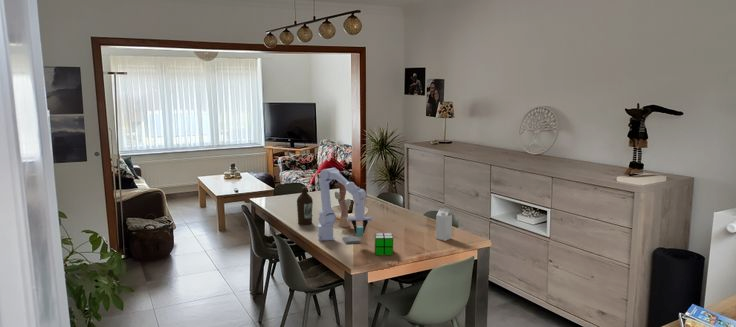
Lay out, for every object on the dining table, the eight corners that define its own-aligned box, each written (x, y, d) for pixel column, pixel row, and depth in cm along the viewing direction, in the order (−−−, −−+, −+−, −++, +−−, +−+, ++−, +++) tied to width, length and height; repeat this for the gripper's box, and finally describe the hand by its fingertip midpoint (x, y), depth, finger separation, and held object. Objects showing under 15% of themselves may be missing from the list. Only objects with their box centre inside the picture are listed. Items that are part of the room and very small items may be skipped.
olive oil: (294, 223, 358) (293, 187, 354) (306, 220, 365) (306, 185, 361) (303, 226, 350) (302, 189, 346) (316, 223, 357) (315, 187, 354)
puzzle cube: (391, 249, 303) (391, 232, 301) (393, 255, 293) (393, 238, 291) (374, 249, 303) (374, 233, 301) (375, 255, 293) (375, 238, 291)
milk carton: (441, 236, 329) (442, 206, 326) (451, 238, 324) (452, 208, 321) (435, 238, 323) (436, 208, 320) (445, 241, 319) (446, 210, 316)
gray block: (346, 244, 313) (346, 241, 312) (342, 240, 321) (342, 237, 321) (360, 243, 315) (360, 240, 315) (356, 239, 324) (356, 236, 323)
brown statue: (350, 224, 356) (350, 180, 351) (350, 227, 349) (350, 182, 344) (335, 224, 356) (335, 180, 351) (334, 227, 348) (334, 182, 344)
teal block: (356, 237, 304) (356, 227, 304) (355, 234, 308) (355, 225, 307) (363, 236, 305) (363, 227, 304) (362, 234, 309) (362, 225, 308)
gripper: (347, 212, 299) (347, 235, 302) (372, 211, 301) (372, 234, 304) (346, 209, 306) (346, 231, 309) (371, 208, 308) (371, 231, 310)
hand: (359, 232), depth 307 cm, fingers closed on teal block, 4 cm apart
